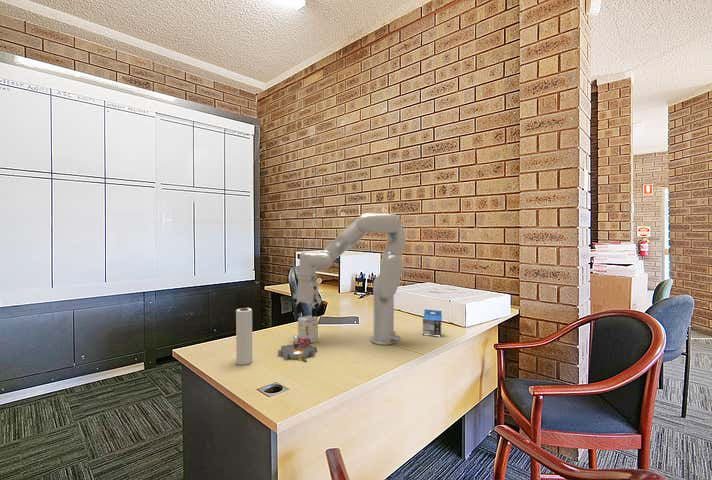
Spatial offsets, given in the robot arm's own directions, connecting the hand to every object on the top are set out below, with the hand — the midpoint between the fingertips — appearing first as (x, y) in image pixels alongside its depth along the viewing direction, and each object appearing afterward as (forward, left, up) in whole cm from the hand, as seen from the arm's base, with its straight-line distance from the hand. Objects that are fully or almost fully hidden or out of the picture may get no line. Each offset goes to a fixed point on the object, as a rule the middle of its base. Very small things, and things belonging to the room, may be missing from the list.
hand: (306, 314), depth 167 cm
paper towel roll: (+2, +33, -13) cm, 35 cm away
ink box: (-1, 0, -13) cm, 13 cm away
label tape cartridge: (-44, -44, -13) cm, 64 cm away
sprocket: (-8, +14, -13) cm, 20 cm away
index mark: (-16, +18, -13) cm, 27 cm away
